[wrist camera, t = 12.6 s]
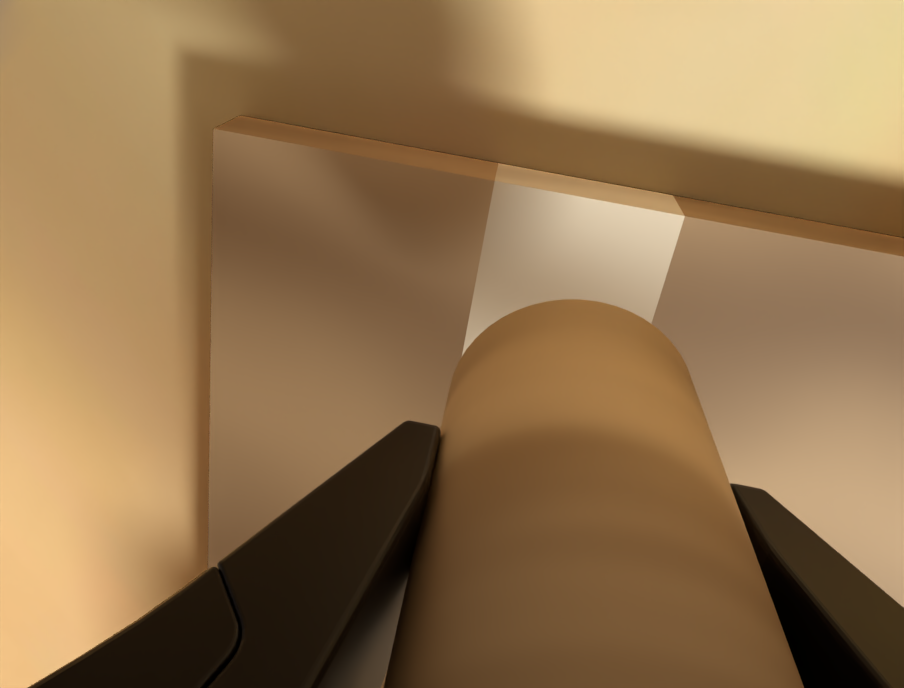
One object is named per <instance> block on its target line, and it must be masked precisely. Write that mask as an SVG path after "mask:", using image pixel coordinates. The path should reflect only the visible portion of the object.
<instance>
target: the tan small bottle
mask: <svg viewBox="0 0 904 688" xmlns="http://www.w3.org/2000/svg"><path fill="white" fill-rule="evenodd" d="M440 430H441V436H440V441H439V446H438V450H437V455H436V460H435V464H434V469H433V473H432V478H431V483H430V487H429V492H428V496H427V501H426V506H425V510H424V514H423V518H422V522H421V526H420V529H419V532H418V536H417V540H416V544H415V548H414V552H413V556H412V561H411V565H410V570H409V574H408V579H407V583H406V588H405V593H404V597H403V602H402V606H401V611H400V615H399V620H398V624H397V629H396V633H395V638H394V643H393V647H392V652H391V656H390V661H389V665H388V670H387V674H386V679H385V683H384V688H804V686H803V683H802V681H801V678H800V675H799V672H798V670H797V667H796V664H795V661H794V659H793V656H792V653H791V650H790V648H789V645H788V642H787V639H786V637H785V634H784V631H783V628H782V626H781V623H780V620H779V617H778V615H777V612H776V609H775V606H774V604H773V601H772V598H771V596H770V593H769V590H768V587H767V585H766V582H765V579H764V576H763V574H762V571H761V568H760V565H759V563H758V560H757V557H756V554H755V552H754V549H753V546H752V543H751V541H750V538H749V535H748V532H747V530H746V527H745V524H744V521H743V519H742V516H741V513H740V510H739V508H738V505H737V502H736V500H735V497H734V494H733V491H732V489H731V486H730V483H729V480H728V478H727V475H726V472H725V469H724V467H723V464H722V461H721V458H720V456H719V453H718V450H717V447H716V445H715V442H714V439H713V436H712V434H711V431H710V428H709V425H708V423H707V420H706V417H705V415H704V412H703V409H702V406H701V404H700V401H699V398H698V395H697V393H696V390H695V387H694V384H693V382H692V379H691V376H690V373H689V371H688V368H687V365H686V364H685V362H684V360H683V358H682V356H681V354H680V353H679V351H678V350H677V349H676V347H675V346H674V345H673V344H672V342H671V341H670V340H669V339H668V338H667V337H666V336H665V335H664V334H663V333H662V332H661V331H660V330H659V329H657V328H656V327H655V326H653V325H652V324H651V323H649V322H648V321H647V320H645V319H643V318H641V317H640V316H638V315H636V314H634V313H632V312H630V311H628V310H625V309H622V308H620V307H617V306H614V305H610V304H606V303H603V302H598V301H590V300H583V299H563V300H554V301H546V302H542V303H538V304H533V305H530V306H527V307H524V308H522V309H519V310H516V311H514V312H512V313H510V314H508V315H506V316H504V317H502V318H500V319H499V320H498V321H496V322H495V323H493V324H492V325H490V326H489V327H487V328H486V329H485V330H484V331H483V332H482V333H481V334H480V335H479V336H478V337H476V338H475V340H474V341H473V342H472V343H471V344H470V346H469V347H468V348H467V349H466V351H465V352H464V354H463V356H462V357H461V359H460V360H459V362H458V364H457V367H456V369H455V371H454V374H453V377H452V381H451V384H450V388H449V393H448V397H447V402H446V406H445V411H444V415H443V420H442V424H441V429H440Z"/></svg>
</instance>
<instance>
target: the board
mask: <svg viewBox="0 0 904 688" xmlns="http://www.w3.org/2000/svg"><path fill="white" fill-rule="evenodd" d="M563 299H583V300H590V301H598V302H603V303H606V304H610V305H614V306H617V307H620V308H622V309H625V310H628V311H630V312H632V313H634V314H636V315H638V316H640V317H641V318H643V319H645V320H647V321H648V322H649V323H651V324H652V325H653V326H655V327H656V328H657V329H659V330H660V331H661V332H662V333H663V334H664V335H665V336H666V337H667V338H668V339H669V340H670V341H671V342H672V344H673V345H674V346H675V347H676V349H677V350H678V351H679V353H680V354H681V356H682V358H683V360H684V362H685V364H686V365H687V368H688V371H689V373H690V376H691V379H692V382H693V384H694V387H695V390H696V393H697V395H698V398H699V401H700V404H701V406H702V409H703V412H704V415H705V417H706V420H707V423H708V425H709V428H710V431H711V434H712V436H713V439H714V442H715V445H716V447H717V450H718V453H719V456H720V458H721V461H722V464H723V467H724V469H725V472H726V475H727V478H728V480H729V483H734V484H740V485H745V486H750V487H755V488H760V489H763V490H765V491H766V492H768V493H769V494H770V495H771V496H772V497H773V498H775V499H776V500H777V501H778V502H779V503H781V504H782V505H783V506H784V507H785V508H786V509H788V510H789V511H790V512H791V513H792V514H794V515H795V516H796V517H797V518H798V519H799V520H801V521H802V522H803V523H804V524H805V525H807V526H808V527H809V528H810V529H811V530H812V531H814V532H815V533H816V534H817V535H818V536H820V537H821V538H822V539H823V540H824V541H825V542H827V543H828V544H829V545H830V546H831V547H833V548H834V549H835V550H836V551H837V552H838V553H840V554H841V555H842V556H843V557H844V558H846V559H847V560H848V561H849V562H850V563H852V564H853V565H854V566H855V567H856V568H857V569H859V570H860V571H861V572H862V573H863V574H865V575H866V576H867V577H868V578H869V579H870V580H872V581H873V582H874V583H875V584H876V585H878V586H879V587H880V588H881V589H882V590H883V591H885V592H886V593H887V594H888V595H889V596H891V597H892V598H893V599H894V600H895V601H896V602H898V603H899V604H900V605H901V606H902V607H904V238H901V237H896V236H890V235H885V234H880V233H874V232H869V231H863V230H858V229H853V228H847V227H842V226H836V225H831V224H825V223H820V222H815V221H809V220H804V219H798V218H793V217H788V216H782V215H777V214H771V213H766V212H761V211H755V210H750V209H744V208H739V207H733V206H728V205H723V204H717V203H712V202H706V201H701V200H696V199H690V198H685V197H679V196H674V195H669V194H663V193H658V192H652V191H647V190H641V189H636V188H631V187H625V186H620V185H614V184H609V183H604V182H598V181H593V180H587V179H582V178H576V177H571V176H566V175H560V174H555V173H549V172H544V171H539V170H533V169H528V168H522V167H517V166H512V165H506V164H501V163H495V162H490V161H484V160H479V159H474V158H468V157H463V156H457V155H452V154H447V153H441V152H436V151H430V150H425V149H419V148H414V147H409V146H403V145H398V144H392V143H387V142H382V141H376V140H371V139H365V138H360V137H355V136H349V135H344V134H338V133H333V132H327V131H322V130H317V129H311V128H306V127H300V126H295V125H290V124H284V123H279V122H273V121H268V120H263V119H257V118H252V117H246V116H241V115H240V116H238V117H236V118H234V119H232V120H230V121H228V122H226V123H224V124H222V125H220V126H218V127H216V128H214V129H213V189H212V270H211V350H210V431H209V511H208V569H209V568H210V567H212V566H214V567H216V564H217V563H218V561H220V560H221V559H222V558H224V557H225V556H226V555H228V554H229V553H230V552H232V551H233V550H234V549H236V548H237V547H238V546H240V545H241V544H242V543H244V542H245V541H246V540H248V539H249V538H250V537H252V536H253V535H254V534H256V533H257V532H258V531H260V530H261V529H262V528H264V527H265V526H266V525H268V524H269V523H270V522H271V521H273V520H274V519H275V518H277V517H278V516H279V515H281V514H282V513H283V512H285V511H286V510H287V509H289V508H290V507H291V506H293V505H294V504H295V503H297V502H298V501H299V500H301V499H302V498H303V497H305V496H306V495H307V494H309V493H310V492H311V491H313V490H314V489H315V488H317V487H318V486H319V485H321V484H322V483H323V482H325V481H326V480H327V479H329V478H330V477H331V476H333V475H334V474H335V473H337V472H338V471H339V470H341V469H342V468H343V467H344V466H346V465H347V464H348V463H350V462H351V461H352V460H354V459H355V458H356V457H358V456H359V455H360V454H362V453H363V452H364V451H366V450H367V449H368V448H370V447H371V446H372V445H374V444H375V443H376V442H378V441H379V440H380V439H382V438H383V437H384V436H386V435H387V434H388V433H390V432H391V431H392V430H394V429H395V428H396V427H398V426H399V425H400V424H402V423H403V422H405V421H408V420H411V421H416V422H421V423H426V424H431V425H436V426H438V427H439V428H440V429H441V424H442V420H443V415H444V411H445V406H446V402H447V397H448V393H449V388H450V384H451V381H452V377H453V374H454V371H455V369H456V367H457V364H458V362H459V360H460V359H461V357H462V356H463V354H464V352H465V351H466V349H467V348H468V347H469V346H470V344H471V343H472V342H473V341H474V340H475V338H476V337H478V336H479V335H480V334H481V333H482V332H483V331H484V330H485V329H486V328H487V327H489V326H490V325H492V324H493V323H495V322H496V321H498V320H499V319H500V318H502V317H504V316H506V315H508V314H510V313H512V312H514V311H516V310H519V309H522V308H524V307H527V306H530V305H533V304H538V303H542V302H546V301H554V300H563ZM387 670H388V669H387ZM386 674H387V672H386ZM385 679H386V675H385V678H384V681H383V683H382V686H381V688H384V683H385Z"/></svg>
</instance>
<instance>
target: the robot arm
mask: <svg viewBox="0 0 904 688" xmlns="http://www.w3.org/2000/svg"><path fill="white" fill-rule="evenodd" d="M440 436H441V430H440V428H439V427H438V426H436V425H431V424H426V423H421V422H416V421H411V420H408V421H405V422H403V423H402V424H400V425H399V426H398V427H396V428H395V429H394V430H392V431H391V432H390V433H388V434H387V435H386V436H384V437H383V438H382V439H380V440H379V441H378V442H376V443H375V444H374V445H372V446H371V447H370V448H368V449H367V450H366V451H364V452H363V453H362V454H360V455H359V456H358V457H356V458H355V459H354V460H352V461H351V462H350V463H348V464H347V465H346V466H344V467H343V468H342V469H341V470H339V471H338V472H337V473H335V474H334V475H333V476H331V477H330V478H329V479H327V480H326V481H325V482H323V483H322V484H321V485H319V486H318V487H317V488H315V489H314V490H313V491H311V492H310V493H309V494H307V495H306V496H305V497H303V498H302V499H301V500H299V501H298V502H297V503H295V504H294V505H293V506H291V507H290V508H289V509H287V510H286V511H285V512H283V513H282V514H281V515H279V516H278V517H277V518H275V519H274V520H273V521H271V522H270V523H269V524H268V525H266V526H265V527H264V528H262V529H261V530H260V531H258V532H257V533H256V534H254V535H253V536H252V537H250V538H249V539H248V540H246V541H245V542H244V543H242V544H241V545H240V546H238V547H237V548H236V549H234V550H233V551H232V552H230V553H229V554H228V555H226V556H225V557H224V558H222V559H221V560H220V561H218V563H217V564H216V567H214V566H212V567H210V568H209V569H207V570H206V571H205V572H203V573H202V574H201V575H199V576H198V577H197V578H195V579H194V580H193V581H191V582H190V583H189V584H187V585H186V586H185V587H183V588H182V589H180V590H179V591H178V592H176V593H175V594H173V595H172V596H171V597H169V598H168V599H166V600H165V601H163V602H162V603H161V604H159V605H158V606H156V607H155V608H154V609H152V610H151V611H149V612H148V613H147V614H145V615H144V616H142V617H141V618H139V619H138V620H136V621H135V622H133V623H132V624H130V625H129V626H127V627H125V628H124V629H122V630H121V631H119V632H118V633H116V634H114V635H113V636H111V637H110V638H108V639H106V640H105V641H103V642H102V643H100V644H99V645H97V646H95V647H94V648H92V649H91V650H89V651H87V652H86V653H84V654H83V655H81V656H80V657H78V658H76V659H75V660H73V661H71V662H70V663H68V664H66V665H65V666H63V667H61V668H60V669H58V670H56V671H55V672H53V673H51V674H50V675H48V676H46V677H45V678H43V679H41V680H40V681H38V682H36V683H35V684H33V685H31V686H30V687H28V688H381V686H382V683H383V681H384V678H385V675H386V672H387V669H388V665H389V661H390V656H391V652H392V647H393V643H394V638H395V633H396V629H397V624H398V620H399V615H400V611H401V606H402V602H403V597H404V593H405V588H406V583H407V579H408V574H409V570H410V565H411V561H412V556H413V552H414V548H415V544H416V540H417V536H418V532H419V529H420V526H421V522H422V518H423V514H424V510H425V506H426V501H427V496H428V492H429V487H430V483H431V478H432V473H433V469H434V464H435V460H436V455H437V450H438V446H439V441H440ZM730 486H731V489H732V491H733V494H734V497H735V500H736V502H737V505H738V508H739V510H740V513H741V516H742V519H743V521H744V524H745V527H746V530H747V532H748V535H749V538H750V541H751V543H752V546H753V549H754V552H755V554H756V557H757V560H758V563H759V565H760V568H761V571H762V574H763V576H764V579H765V582H766V585H767V587H768V590H769V593H770V596H771V598H772V601H773V604H774V606H775V609H776V612H777V615H778V617H779V620H780V623H781V626H782V628H783V631H784V634H785V637H786V639H787V642H788V645H789V648H790V650H791V653H792V656H793V659H794V661H795V664H796V667H797V670H798V672H799V675H800V678H801V681H802V683H803V686H804V688H904V607H902V606H901V605H900V604H899V603H898V602H896V601H895V600H894V599H893V598H892V597H891V596H889V595H888V594H887V593H886V592H885V591H883V590H882V589H881V588H880V587H879V586H878V585H876V584H875V583H874V582H873V581H872V580H870V579H869V578H868V577H867V576H866V575H865V574H863V573H862V572H861V571H860V570H859V569H857V568H856V567H855V566H854V565H853V564H852V563H850V562H849V561H848V560H847V559H846V558H844V557H843V556H842V555H841V554H840V553H838V552H837V551H836V550H835V549H834V548H833V547H831V546H830V545H829V544H828V543H827V542H825V541H824V540H823V539H822V538H821V537H820V536H818V535H817V534H816V533H815V532H814V531H812V530H811V529H810V528H809V527H808V526H807V525H805V524H804V523H803V522H802V521H801V520H799V519H798V518H797V517H796V516H795V515H794V514H792V513H791V512H790V511H789V510H788V509H786V508H785V507H784V506H783V505H782V504H781V503H779V502H778V501H777V500H776V499H775V498H773V497H772V496H771V495H770V494H769V493H768V492H766V491H765V490H763V489H760V488H755V487H750V486H745V485H740V484H734V483H730Z"/></svg>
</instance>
